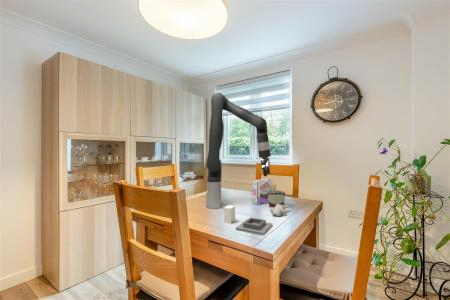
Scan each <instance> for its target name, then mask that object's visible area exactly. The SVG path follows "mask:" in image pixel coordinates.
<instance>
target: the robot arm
mask: <svg viewBox="0 0 450 300" xmlns="http://www.w3.org/2000/svg"><path fill="white" fill-rule="evenodd" d="M210 98H211V100H210V104H211V105H210V107H211V108H210V109H211V111H210V113H211V115H210V123H209V132H208V133H209V134H208V153H207V159H206V165H205V166H206V168H207V178H206V179H207V180H206V181H207V183H206V184H207V185H206V186H207V191H206V193H205V196H206V197H205V199H206V200H205V201H206V204H205V205H206V208H208V209H210V210H211V209H212V210H215V209H220V208H222V170H223V169H222V166H223V165H222V161H221V159H220V155H221V154H220V153H221V147H222V144H223V139H224V127H225V126H224V121H223V111H226V112H228V113H230V114H231V115H234V116H235V117H237V118H238V119H239V120H242V121H243V122H245V123H248V124H250V125H251V126H253V127H255V129H256V134H257V135H256V140H257V141H256V142H257V153H258V158H260V165H261V170H262V172H263V173H262V174H263V177H267V176H268V175H270V174H271V169H270V167H271V163H270V157H271V156H272V153H271V146H270V142H269V141H270V140H269V135H268V123H267V121H266V119H265V118H264V117H262V116H259V115H257V114H255V113H254V112H252V111H250V110H248V109H246V108H244V107H242V106H240V105H236V104H235V103H233V102H232V101H231V100H229V99H228V98H227V97H226V96H225V95H224V94H223V93H221V92H215V93H213V94H212V95H211V97H210Z"/></svg>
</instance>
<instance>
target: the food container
mask: <svg viewBox="0 0 450 300" xmlns="http://www.w3.org/2000/svg"><path fill="white" fill-rule="evenodd" d="M267 195H268V201H269V203H268V207H269V208H274V207H276V204H280V205H284V206H285V198H286V196H287V195H286V192H285V191H281V190H272V191H269V192H268V193H267Z"/></svg>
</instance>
